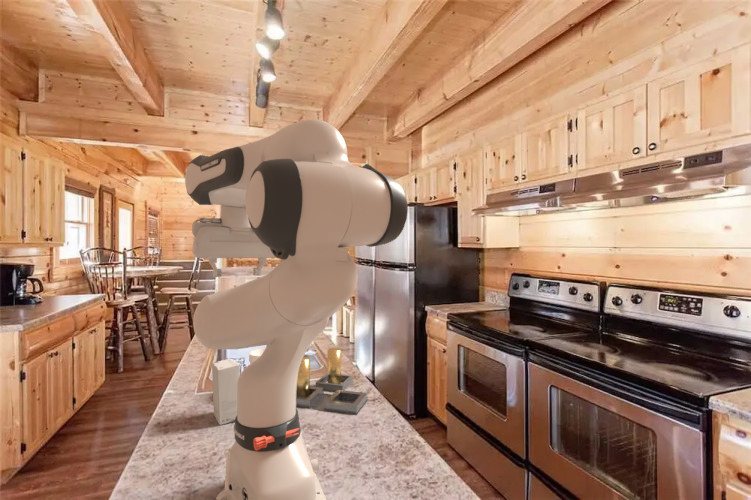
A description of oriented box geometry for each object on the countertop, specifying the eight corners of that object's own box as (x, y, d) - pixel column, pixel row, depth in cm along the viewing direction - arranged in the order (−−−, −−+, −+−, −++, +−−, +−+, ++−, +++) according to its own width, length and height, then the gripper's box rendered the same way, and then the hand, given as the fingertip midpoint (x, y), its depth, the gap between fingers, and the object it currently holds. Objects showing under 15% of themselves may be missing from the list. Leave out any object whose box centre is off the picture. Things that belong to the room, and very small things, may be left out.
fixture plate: (368, 402, 113) (368, 392, 112) (356, 418, 102) (356, 407, 102) (296, 393, 119) (296, 383, 119) (277, 407, 109) (277, 397, 109)
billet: (343, 387, 123) (343, 350, 123) (331, 390, 120) (331, 352, 120) (337, 382, 126) (337, 347, 126) (325, 385, 124) (325, 349, 124)
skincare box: (241, 420, 101) (241, 365, 101) (217, 426, 98) (217, 369, 97) (234, 408, 108) (234, 357, 108) (211, 414, 105) (211, 360, 104)
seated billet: (312, 399, 112) (312, 359, 112) (298, 403, 110) (298, 362, 109) (306, 394, 116) (306, 355, 115) (292, 397, 113) (292, 358, 113)
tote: (352, 384, 126) (352, 375, 126) (342, 395, 118) (342, 385, 118) (327, 381, 129) (327, 373, 129) (315, 392, 120) (315, 382, 120)
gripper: (195, 217, 82) (193, 280, 84) (284, 222, 94) (281, 276, 96) (190, 216, 87) (188, 274, 89) (276, 220, 99) (273, 272, 101)
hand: (237, 275), depth 92 cm, fingers open, 8 cm apart
